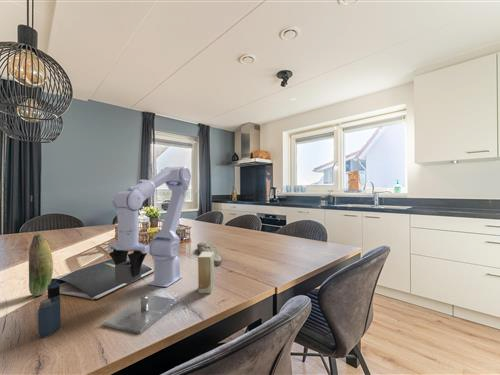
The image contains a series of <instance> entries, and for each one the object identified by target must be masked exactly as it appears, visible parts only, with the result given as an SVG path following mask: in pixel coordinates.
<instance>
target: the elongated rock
mask: <svg viewBox="0 0 500 375" xmlns="http://www.w3.org/2000/svg"><path fill="white" fill-rule="evenodd" d="M196 247H197V248H196V249H197V251H198V253H199V255H200V254H201V253H202V252H214V267H216V266H217V267H218V266H220V265H222V263H223V257H222V255H221V254H220V253H219V252H220V251H219V250H218V248H217V246H215V245H213V244H211V243H209V242H199V243H198V244H196Z"/></svg>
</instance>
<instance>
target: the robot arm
mask: <svg viewBox="0 0 500 375" xmlns="http://www.w3.org/2000/svg"><path fill="white" fill-rule="evenodd" d="M191 179H192V174H191V171H190V169H189V167H187V166H173V167H171V166H170V167H169V166H166V167H164V168H162V169H161V170H160V171H159V172H158V173H157V174H156V175H154V176H153V177H151V178H150V179H139V180H137V181H138V182H137V183H136V184H135V185H133V186H129V187H127V189H126V190H125V191H124V190H123V191H119V192H117V193H116V194H115V196H114V198H113V200H112V201H111V202H112V205H113V207H114V209H115V214H116V215H117V216H116V217H117V242H116V241H112V242H109V243H107V250H108V251H109V250H110V251H111V250H112V251H111V252H109V256H110V258H111V259H112V260H113V263H114V266H115V265H117V264H120V263H123V262H125V261H127V259H128V260H130V263H131V272H132V277H135V276H137V275H139V273H140V269H141V270H142V265H143V262H144V260H145V258H146V256H147V254H149V255H150V257H151V259H152V260H153V280H152V281H150V282H148V286H156V287H163V288H168V287H170V286H171V285H173V284H174V283H176V282H177V281H180V279H182V278H183V276H181V262H180V258H179V257H178V255H179V252H180V242H181V238H180V237H179V236H178V235H177V230H178V226H179V221H180V218H181V214H182V211H183V208H184V204H185V201H186V200H185V199H186V196H187V192H188V189H189V186H190V183H191ZM164 184H165V185H166V186H167V188H168V190H170V191H171V196H170V200H169V202H168V206H167V209H166V212H165V216H164V219H163V222H162V226H161V229H160V230H159V231H158V232H157V233H155V234H154V235H153V238H152V240H150V243H149V245H148V244H143V243H141V242H139V240H140V239H139V238H140V237H139V209H142V206H143V204H144V202H145V201H146V200H147V199H148V198H150V197H151V196H153V195H154V194H155V193H156V189H157V188H159V187H161V186H162V185H164ZM129 252H131V253H129ZM128 253H129V254H128Z"/></svg>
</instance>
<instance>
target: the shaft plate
mask: <svg viewBox="0 0 500 375" xmlns="http://www.w3.org/2000/svg"><path fill="white" fill-rule="evenodd" d="M179 304H181V300H180V299H176V298H172V297H163V296H158V295H152V294H146V295H142V296H141V297H140V298H139V299H137V300H136V301H134V302H133V303H131V304H129V305H128V306H126V307H124V308H122V309H121V310H119V311H117V312H116V313H114V314H112V315H111V316H110V317H108V318H106V319H104V320H103V321H102V326H103V327H108V328H113V329H117V330H122V331H124V332H125V331H127V332H130V333H135V334H138V335H141V334H143V333H144V332H145V331H146V330H148V329H149V328H150V327H151V326H153V325H155V323H157V322H158V321H159V320H160V319H162V318H163V317H164V316H165V315H167V314H168V313H169V312H171V311H172V310H173V309H174V308H176V307H177V306H178V305H179Z"/></svg>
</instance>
